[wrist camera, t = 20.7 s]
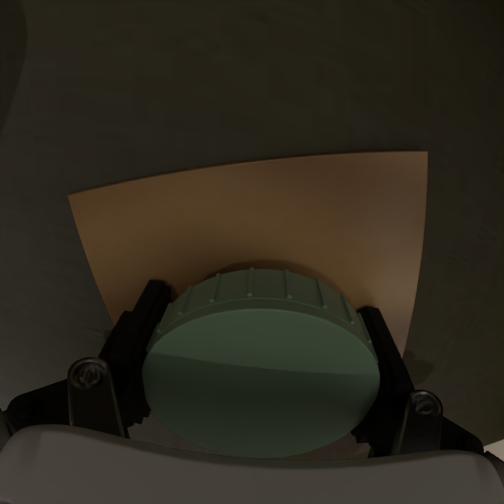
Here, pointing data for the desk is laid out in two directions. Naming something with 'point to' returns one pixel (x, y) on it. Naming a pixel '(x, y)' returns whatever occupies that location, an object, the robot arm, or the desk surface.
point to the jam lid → (260, 365)
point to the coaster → (265, 227)
